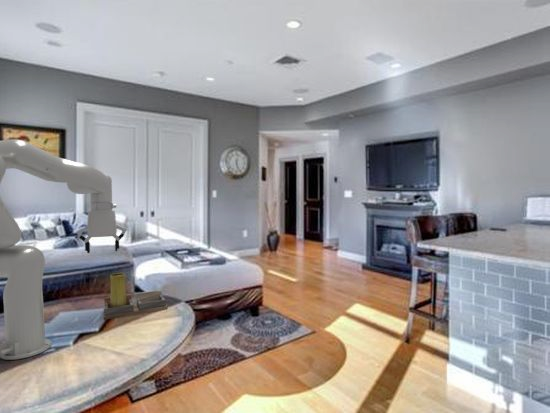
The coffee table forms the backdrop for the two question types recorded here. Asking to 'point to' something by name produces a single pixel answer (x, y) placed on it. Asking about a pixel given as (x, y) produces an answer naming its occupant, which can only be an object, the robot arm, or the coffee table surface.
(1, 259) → the robot arm
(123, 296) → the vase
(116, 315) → the socket board
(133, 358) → the coffee table surface
